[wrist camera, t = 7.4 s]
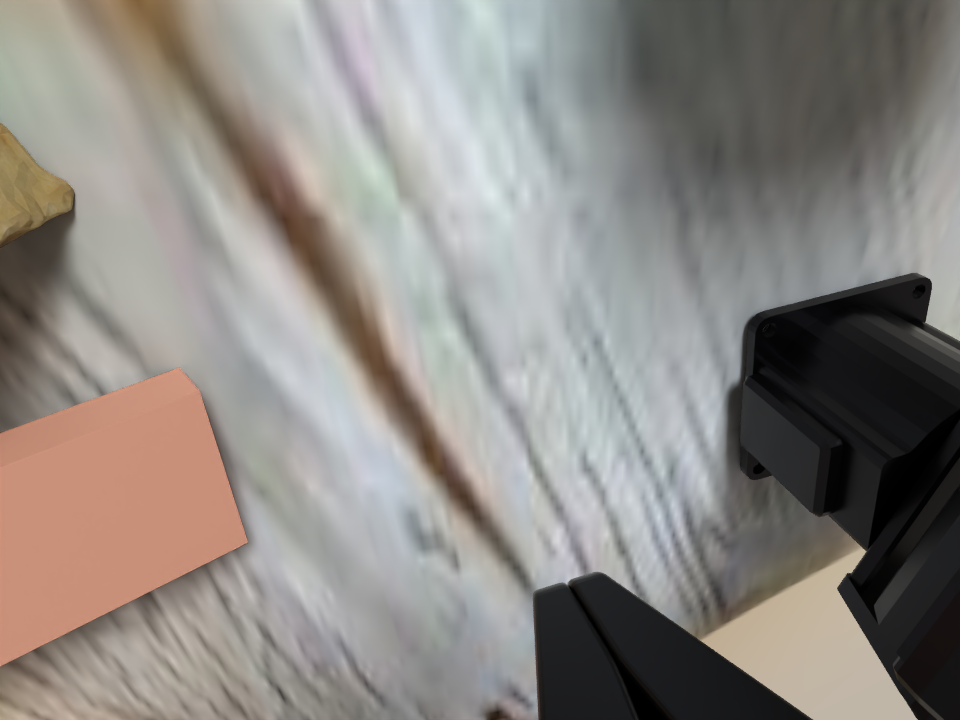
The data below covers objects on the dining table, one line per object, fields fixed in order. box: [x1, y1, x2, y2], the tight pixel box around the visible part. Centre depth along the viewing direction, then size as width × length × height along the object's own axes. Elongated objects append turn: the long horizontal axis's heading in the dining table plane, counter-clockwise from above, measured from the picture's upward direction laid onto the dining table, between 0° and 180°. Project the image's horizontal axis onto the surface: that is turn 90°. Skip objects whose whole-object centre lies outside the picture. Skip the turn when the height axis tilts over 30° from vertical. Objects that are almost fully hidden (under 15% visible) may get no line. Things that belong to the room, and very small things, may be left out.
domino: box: [0, 368, 248, 666], centre depth 18 cm, size 2×5×10 cm
